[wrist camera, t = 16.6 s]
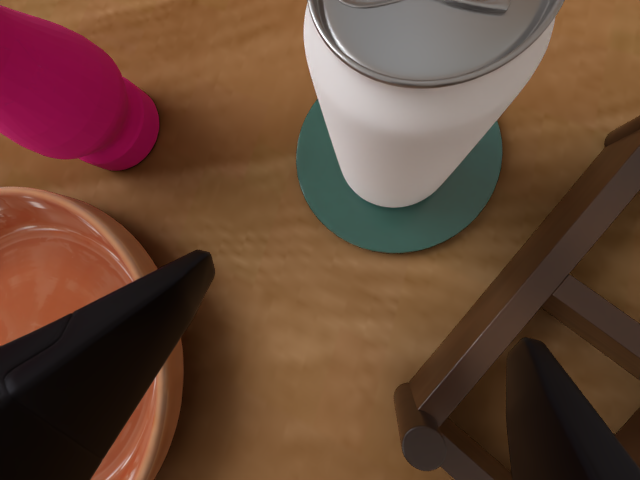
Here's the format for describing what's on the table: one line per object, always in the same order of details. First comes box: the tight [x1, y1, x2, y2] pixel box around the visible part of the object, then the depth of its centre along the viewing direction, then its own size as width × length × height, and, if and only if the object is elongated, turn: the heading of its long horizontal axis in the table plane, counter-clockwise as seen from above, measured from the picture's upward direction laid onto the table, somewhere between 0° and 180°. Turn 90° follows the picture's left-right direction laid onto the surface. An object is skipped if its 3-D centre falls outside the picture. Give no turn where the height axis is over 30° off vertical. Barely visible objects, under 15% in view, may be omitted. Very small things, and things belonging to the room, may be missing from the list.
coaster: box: [296, 99, 502, 253], centre depth 19 cm, size 12×12×1 cm
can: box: [304, 0, 565, 208], centre depth 13 cm, size 6×6×12 cm
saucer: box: [0, 187, 184, 480], centre depth 20 cm, size 23×23×4 cm
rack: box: [394, 116, 640, 480], centre depth 14 cm, size 20×11×5 cm, turn 141°
